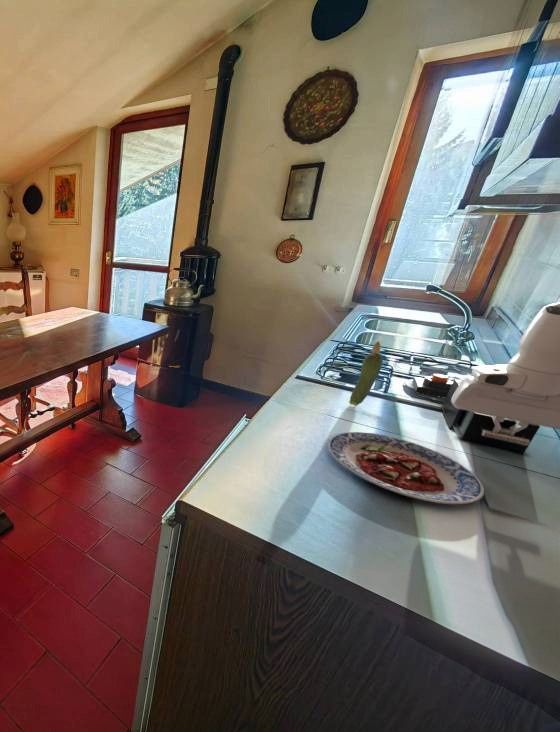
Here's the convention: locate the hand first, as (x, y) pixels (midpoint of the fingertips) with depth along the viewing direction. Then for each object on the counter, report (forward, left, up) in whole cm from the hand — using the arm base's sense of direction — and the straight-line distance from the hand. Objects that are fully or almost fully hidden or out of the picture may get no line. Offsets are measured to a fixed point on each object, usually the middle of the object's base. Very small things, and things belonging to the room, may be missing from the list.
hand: (501, 435), depth 89 cm
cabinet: (0, -18, -6) cm, 19 cm away
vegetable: (+25, -13, -6) cm, 29 cm away
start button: (+5, -41, -2) cm, 41 cm away
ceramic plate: (+18, +21, -6) cm, 29 cm away
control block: (+5, -41, -6) cm, 42 cm away
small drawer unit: (0, -7, -5) cm, 8 cm away
